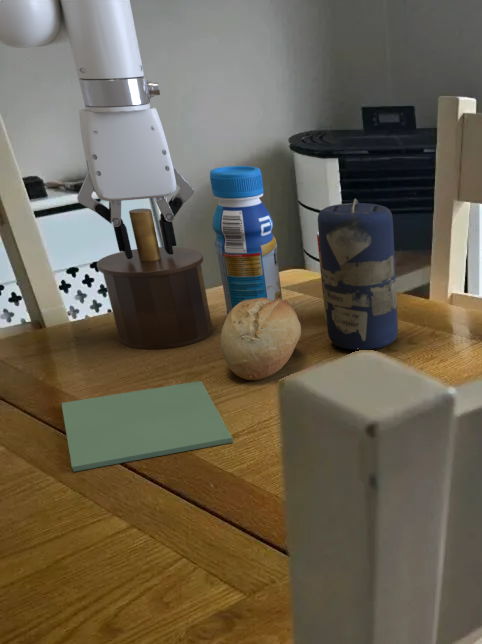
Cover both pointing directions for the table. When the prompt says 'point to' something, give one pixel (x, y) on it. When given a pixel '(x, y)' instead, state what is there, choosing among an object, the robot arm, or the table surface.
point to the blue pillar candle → (358, 274)
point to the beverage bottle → (244, 236)
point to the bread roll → (259, 337)
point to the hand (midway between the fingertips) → (149, 253)
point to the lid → (148, 253)
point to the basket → (160, 309)
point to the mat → (141, 425)
